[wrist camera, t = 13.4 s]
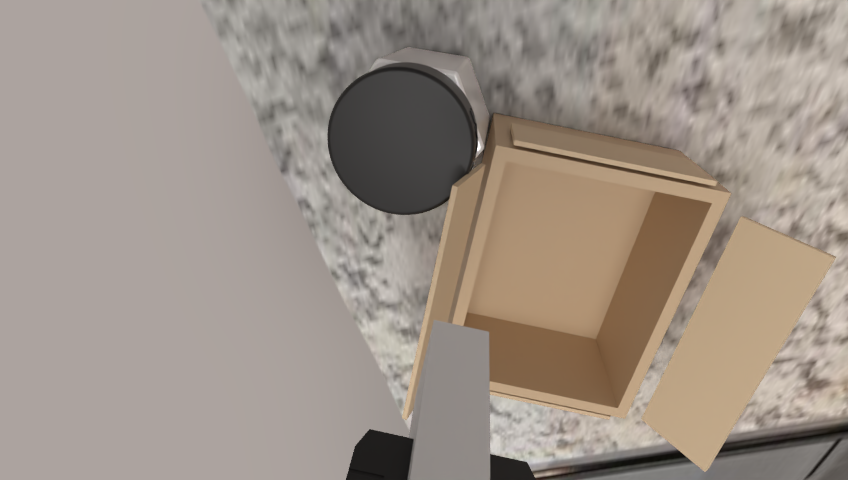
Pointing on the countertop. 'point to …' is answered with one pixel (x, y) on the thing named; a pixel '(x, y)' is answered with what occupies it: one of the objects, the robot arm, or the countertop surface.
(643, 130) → the countertop surface
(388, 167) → the jar
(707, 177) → the carton
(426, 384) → the robot arm
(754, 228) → the flap
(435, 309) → the flap
